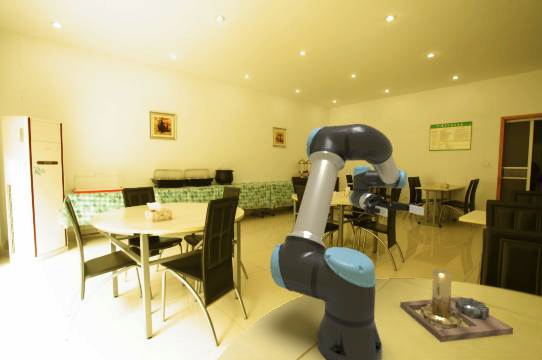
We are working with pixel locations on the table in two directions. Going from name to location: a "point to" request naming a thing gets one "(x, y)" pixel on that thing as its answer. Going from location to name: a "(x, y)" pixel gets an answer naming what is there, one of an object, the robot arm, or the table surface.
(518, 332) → the table surface
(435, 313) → the planet gear
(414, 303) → the plate
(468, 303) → the sun gear
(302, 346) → the table surface
